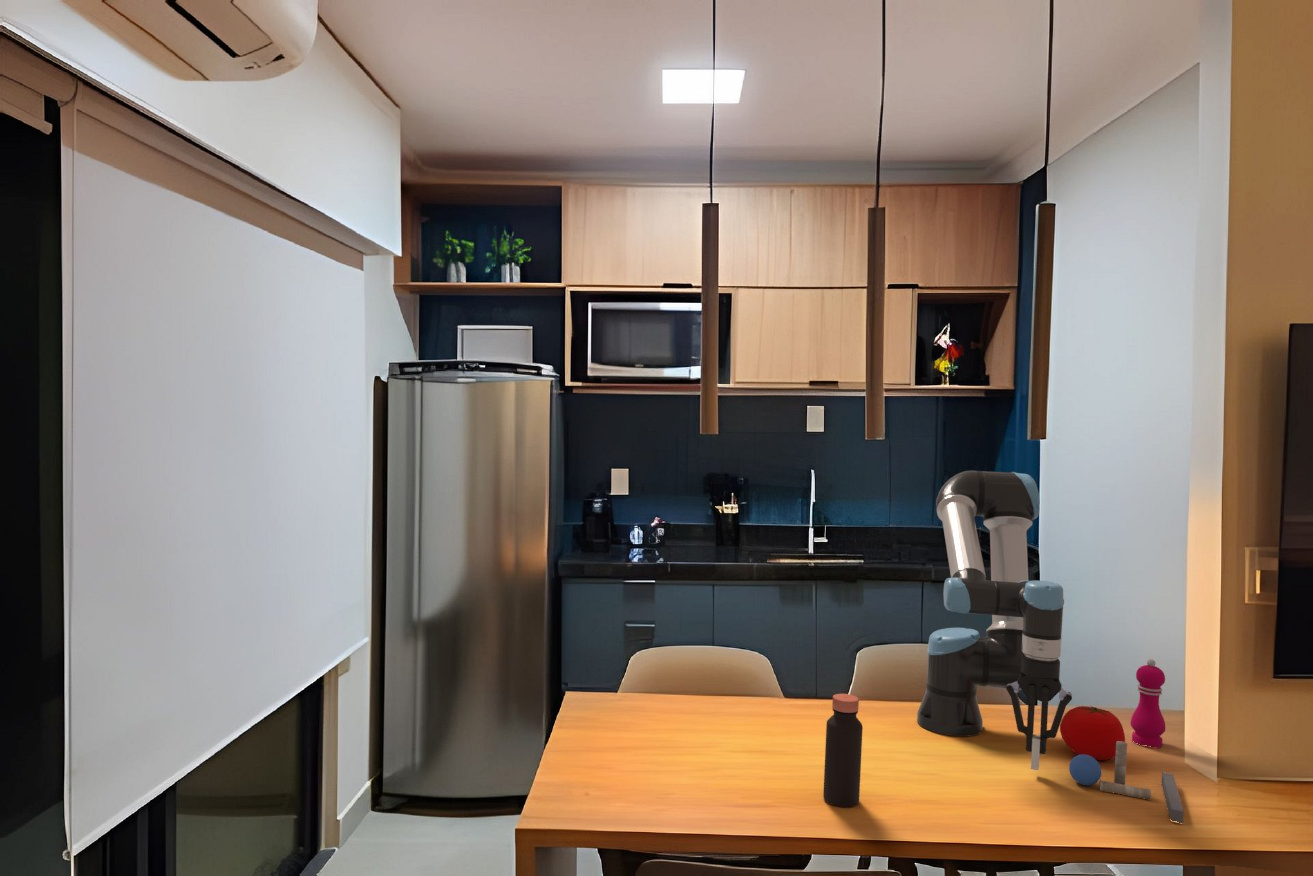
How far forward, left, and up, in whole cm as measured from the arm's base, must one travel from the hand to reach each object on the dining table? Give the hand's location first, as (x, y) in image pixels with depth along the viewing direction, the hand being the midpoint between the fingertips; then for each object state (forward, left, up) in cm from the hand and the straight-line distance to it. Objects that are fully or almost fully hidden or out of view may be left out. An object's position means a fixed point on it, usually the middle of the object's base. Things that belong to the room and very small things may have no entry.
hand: (1034, 767), depth 185 cm
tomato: (+11, +20, -2) cm, 23 cm away
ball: (+9, +1, +1) cm, 10 cm away
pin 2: (+12, 0, -1) cm, 12 cm away
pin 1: (+16, +4, -2) cm, 17 cm away
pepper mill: (+23, +36, -2) cm, 43 cm away
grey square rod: (+25, 0, -2) cm, 25 cm away
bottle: (-33, -33, -2) cm, 47 cm away
